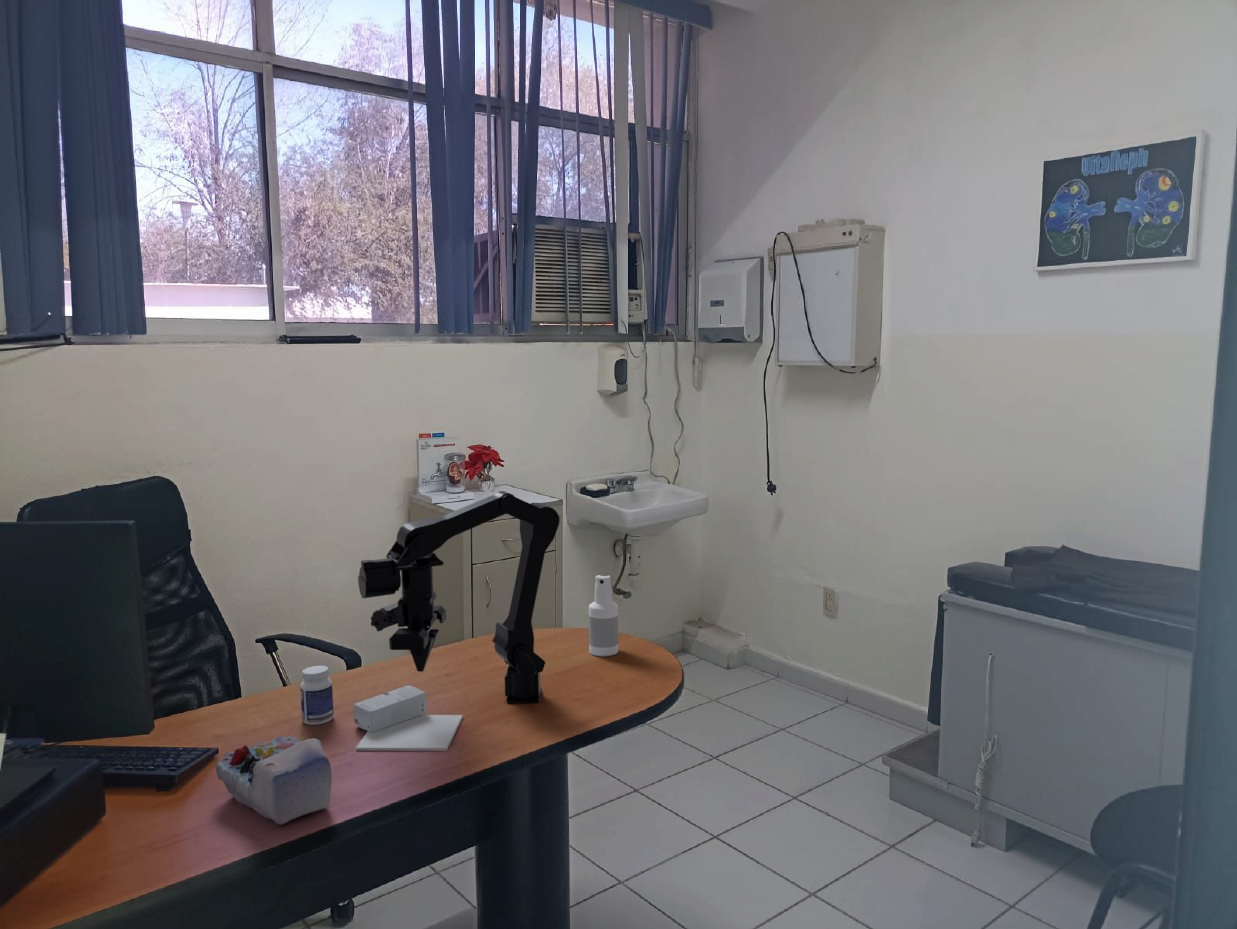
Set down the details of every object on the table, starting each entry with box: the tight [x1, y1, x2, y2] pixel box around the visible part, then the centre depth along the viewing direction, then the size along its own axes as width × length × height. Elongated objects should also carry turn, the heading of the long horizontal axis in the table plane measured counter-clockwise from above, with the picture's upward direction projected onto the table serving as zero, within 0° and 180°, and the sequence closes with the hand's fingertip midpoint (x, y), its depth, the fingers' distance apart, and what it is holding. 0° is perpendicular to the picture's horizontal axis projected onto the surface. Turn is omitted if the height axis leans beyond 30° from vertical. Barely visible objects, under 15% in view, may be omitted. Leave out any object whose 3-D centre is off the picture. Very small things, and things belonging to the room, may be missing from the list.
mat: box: [355, 714, 464, 752], centre depth 159 cm, size 16×14×1 cm
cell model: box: [215, 735, 333, 826], centre depth 135 cm, size 13×11×20 cm
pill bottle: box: [299, 665, 335, 726], centre depth 165 cm, size 6×6×10 cm
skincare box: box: [353, 684, 427, 733], centre depth 164 cm, size 6×4×12 cm
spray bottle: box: [588, 574, 619, 657], centre depth 201 cm, size 7×7×18 cm
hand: (420, 671), depth 164 cm, fingers closed
